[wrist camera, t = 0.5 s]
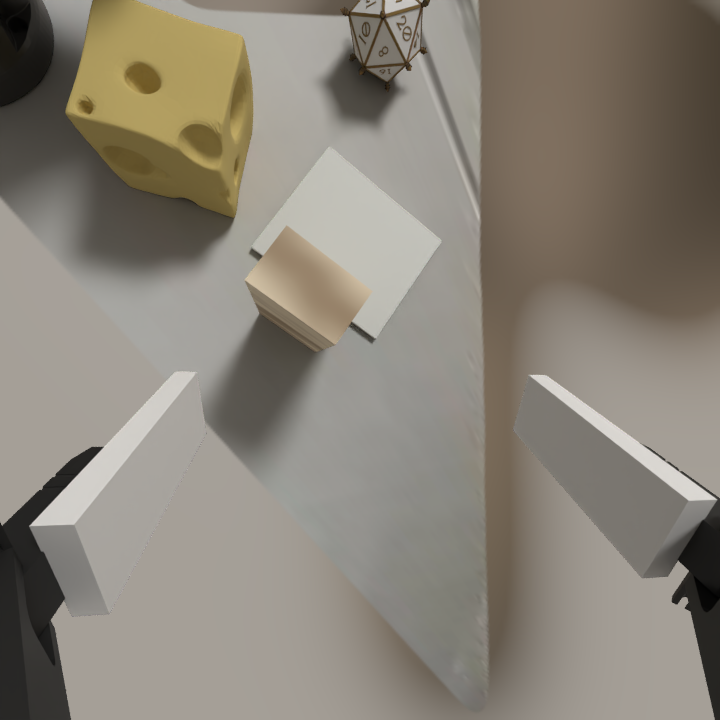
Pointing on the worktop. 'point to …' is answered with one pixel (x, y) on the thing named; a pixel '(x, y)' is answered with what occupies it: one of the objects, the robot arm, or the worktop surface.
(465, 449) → the worktop surface
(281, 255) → the maple block
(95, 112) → the cheese
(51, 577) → the robot arm
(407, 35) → the game die
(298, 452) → the worktop surface
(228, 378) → the worktop surface
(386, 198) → the rubber mat
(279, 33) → the worktop surface
